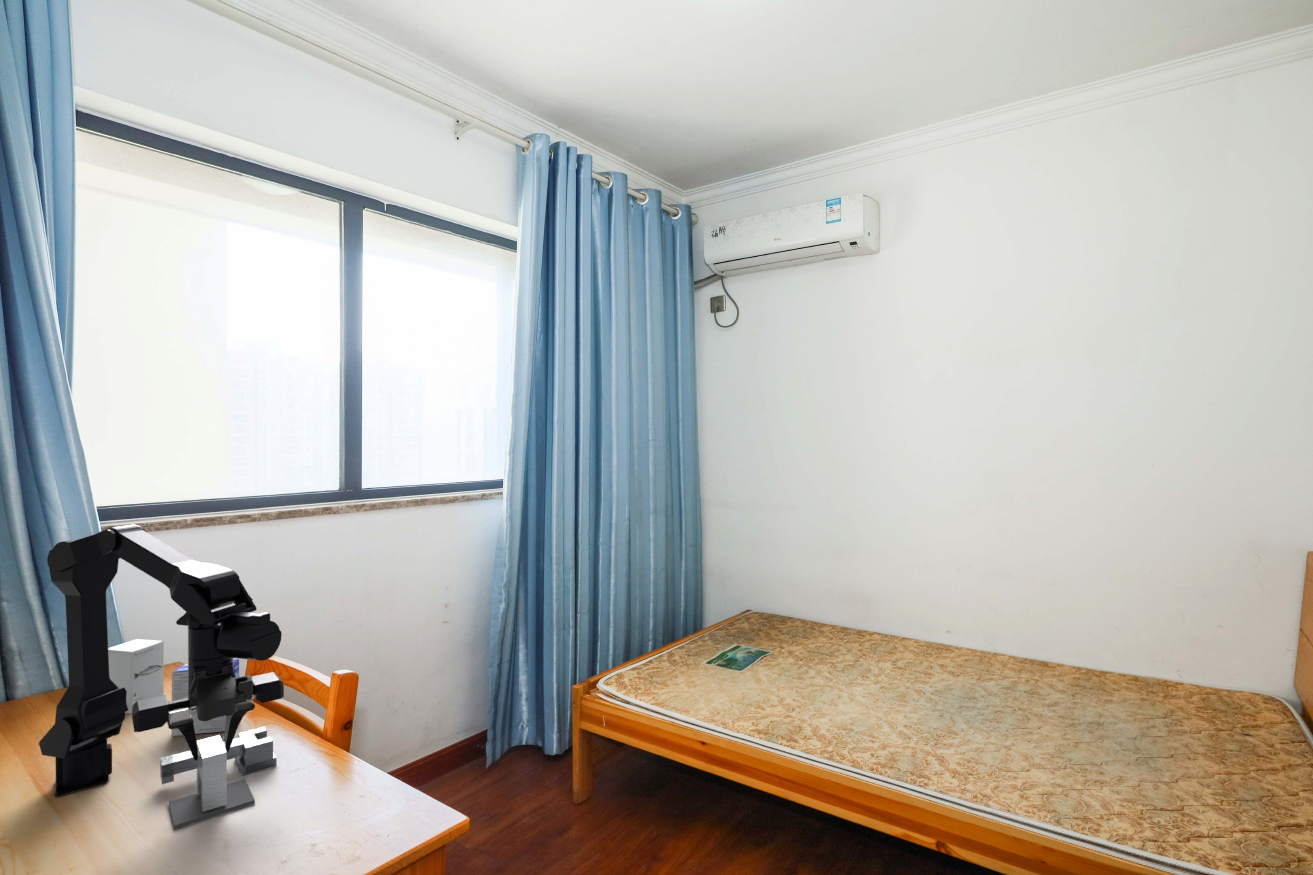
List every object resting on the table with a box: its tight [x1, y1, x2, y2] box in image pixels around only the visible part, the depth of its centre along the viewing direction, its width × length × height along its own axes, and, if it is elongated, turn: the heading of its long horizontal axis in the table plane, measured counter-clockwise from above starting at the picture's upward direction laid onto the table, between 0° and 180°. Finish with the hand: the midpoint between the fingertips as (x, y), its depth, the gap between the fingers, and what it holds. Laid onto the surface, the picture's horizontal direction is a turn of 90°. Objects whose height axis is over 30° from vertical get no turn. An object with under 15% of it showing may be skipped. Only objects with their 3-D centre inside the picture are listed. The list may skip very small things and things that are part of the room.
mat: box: [168, 778, 256, 831], centre depth 101 cm, size 10×8×1 cm
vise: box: [159, 725, 278, 785], centre depth 110 cm, size 16×7×4 cm, turn 131°
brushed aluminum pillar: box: [196, 734, 228, 812], centre depth 101 cm, size 3×7×8 cm, turn 41°
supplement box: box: [108, 638, 165, 715], centre depth 136 cm, size 7×7×13 cm
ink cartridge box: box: [170, 658, 240, 737], centre depth 126 cm, size 10×6×14 cm, turn 104°
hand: (211, 755), depth 101 cm, fingers open, 4 cm apart
